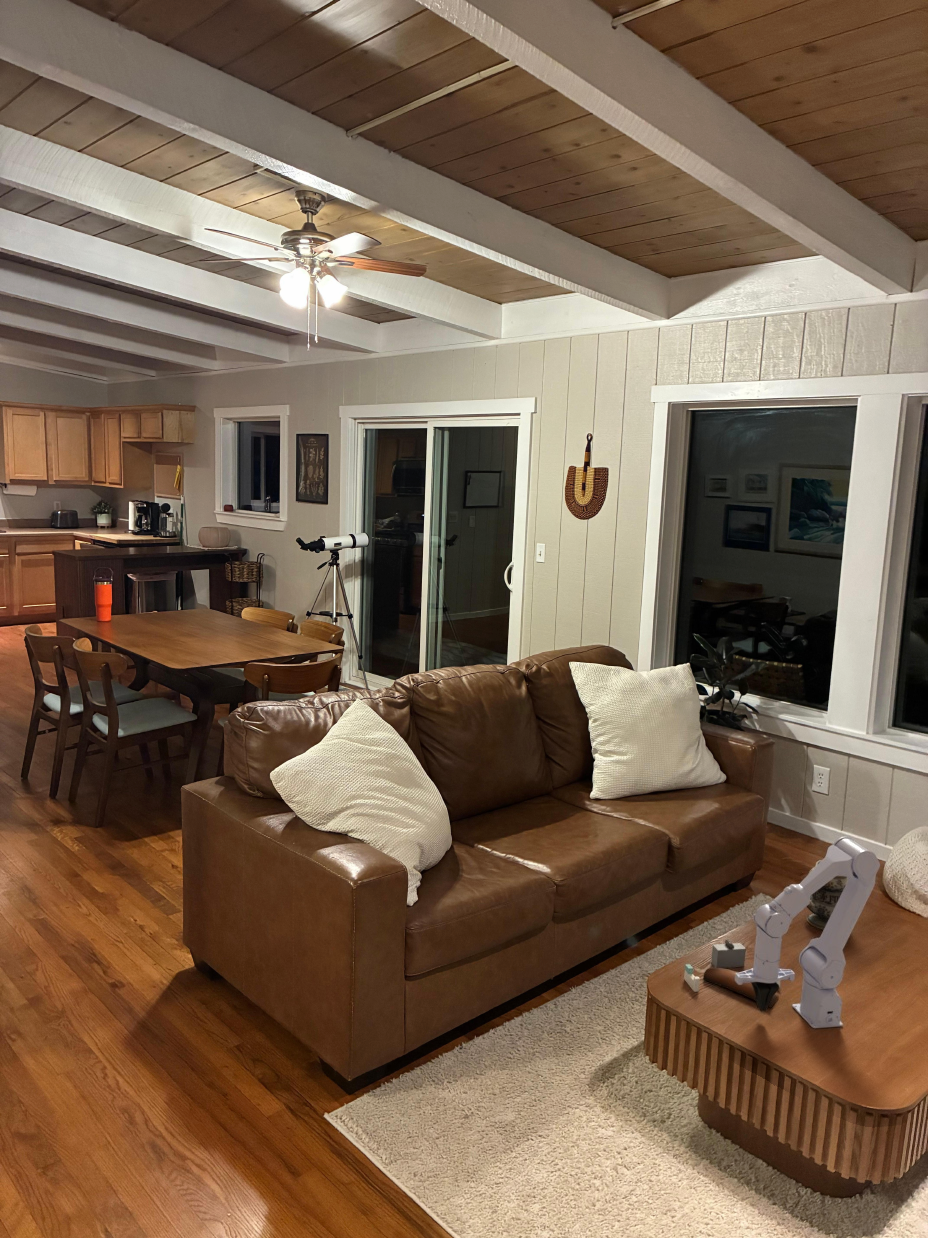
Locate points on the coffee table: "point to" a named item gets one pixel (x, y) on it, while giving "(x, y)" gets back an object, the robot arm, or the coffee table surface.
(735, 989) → the sunglasses case
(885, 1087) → the coffee table surface
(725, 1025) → the coffee table surface
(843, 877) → the apothecary jar
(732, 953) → the grey block
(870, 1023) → the coffee table surface
